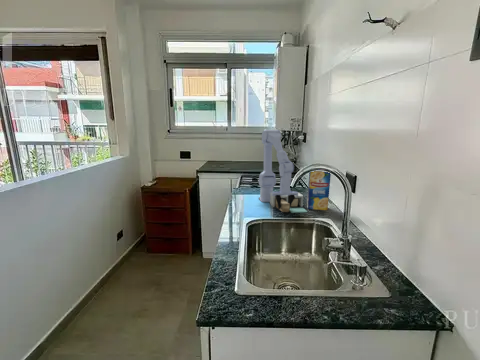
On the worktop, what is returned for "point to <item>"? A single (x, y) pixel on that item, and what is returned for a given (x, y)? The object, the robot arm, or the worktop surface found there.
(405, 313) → the worktop surface
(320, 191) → the beverage box
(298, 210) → the teal mat
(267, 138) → the robot arm
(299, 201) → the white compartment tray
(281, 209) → the beech bar
